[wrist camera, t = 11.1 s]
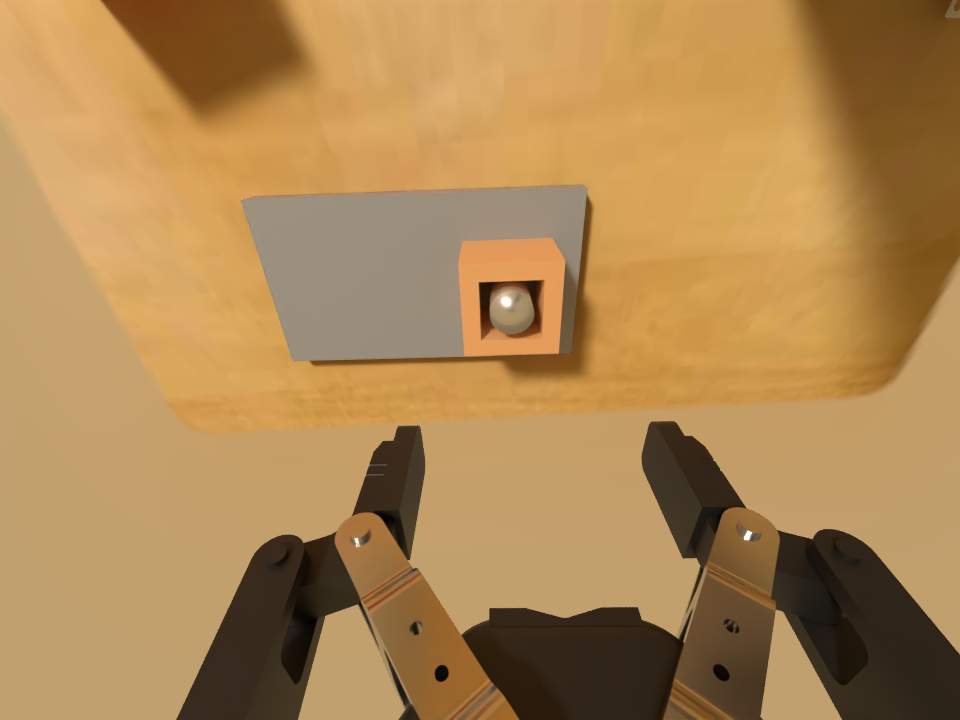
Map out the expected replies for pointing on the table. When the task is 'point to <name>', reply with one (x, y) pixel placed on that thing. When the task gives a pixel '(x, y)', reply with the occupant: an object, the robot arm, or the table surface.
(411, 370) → the table surface
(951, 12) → the push button
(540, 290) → the collar
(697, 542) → the robot arm
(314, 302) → the base plate
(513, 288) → the steel post
